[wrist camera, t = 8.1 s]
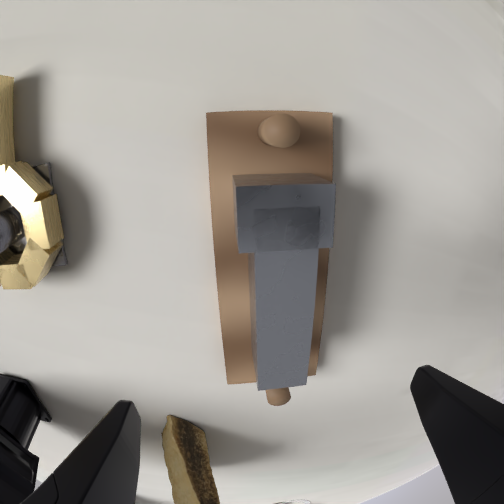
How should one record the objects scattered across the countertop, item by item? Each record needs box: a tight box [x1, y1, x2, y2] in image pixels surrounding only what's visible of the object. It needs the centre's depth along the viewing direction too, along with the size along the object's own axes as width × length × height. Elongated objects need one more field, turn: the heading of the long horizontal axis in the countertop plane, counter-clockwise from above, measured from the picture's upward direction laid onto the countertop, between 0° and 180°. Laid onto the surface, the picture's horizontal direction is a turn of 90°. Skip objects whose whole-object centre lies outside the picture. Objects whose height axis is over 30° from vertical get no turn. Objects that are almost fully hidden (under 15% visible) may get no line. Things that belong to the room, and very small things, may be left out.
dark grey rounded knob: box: [0, 163, 68, 266], centre depth 14 cm, size 7×7×4 cm
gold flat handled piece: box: [0, 75, 64, 289], centre depth 14 cm, size 14×8×2 cm, turn 2°
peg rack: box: [206, 111, 333, 406], centre depth 18 cm, size 19×7×4 cm, turn 2°
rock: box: [161, 415, 220, 504], centre depth 23 cm, size 10×8×10 cm
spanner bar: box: [232, 173, 336, 391], centre depth 17 cm, size 12×4×4 cm, turn 2°
